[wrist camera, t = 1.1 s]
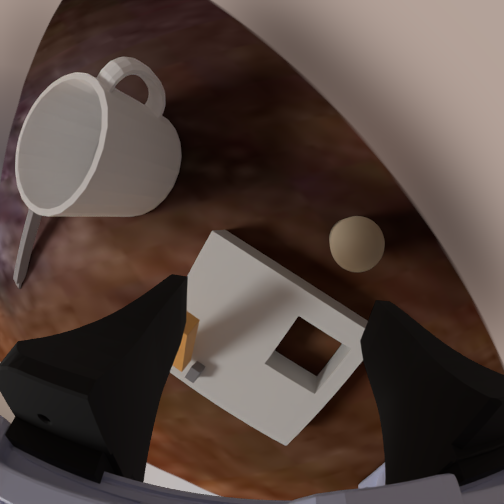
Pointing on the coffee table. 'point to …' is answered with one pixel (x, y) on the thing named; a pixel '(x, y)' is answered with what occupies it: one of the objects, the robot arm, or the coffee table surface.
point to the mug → (97, 146)
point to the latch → (187, 342)
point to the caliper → (26, 246)
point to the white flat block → (262, 338)
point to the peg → (356, 243)
